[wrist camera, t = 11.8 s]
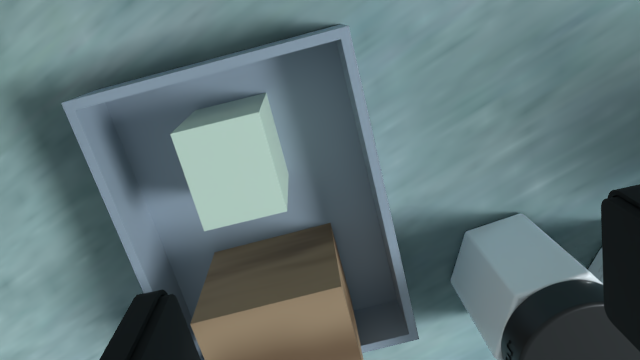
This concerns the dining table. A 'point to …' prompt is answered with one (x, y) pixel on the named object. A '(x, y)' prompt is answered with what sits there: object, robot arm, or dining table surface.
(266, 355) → the walnut block
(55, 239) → the dining table surface
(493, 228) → the jar
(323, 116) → the box
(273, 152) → the pale green block
